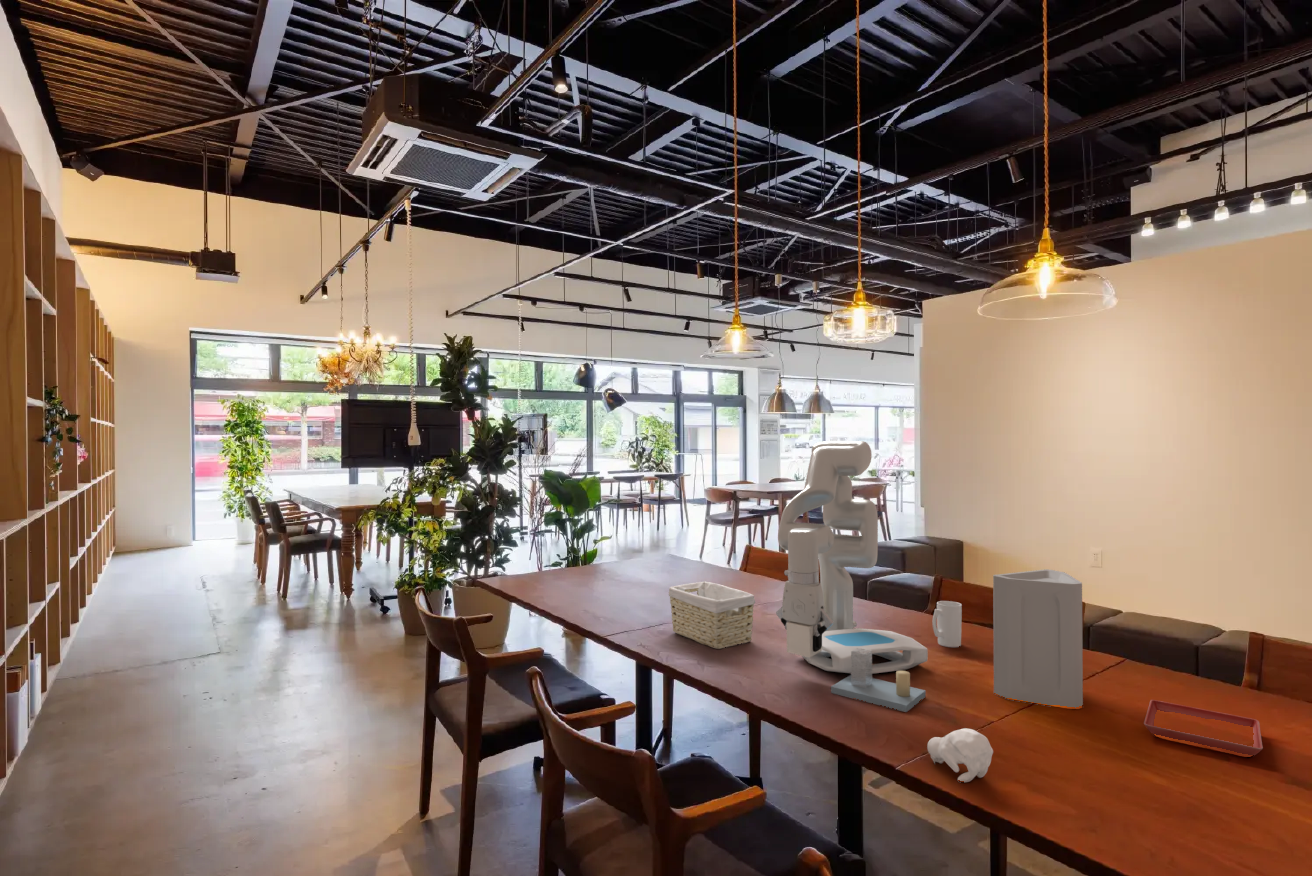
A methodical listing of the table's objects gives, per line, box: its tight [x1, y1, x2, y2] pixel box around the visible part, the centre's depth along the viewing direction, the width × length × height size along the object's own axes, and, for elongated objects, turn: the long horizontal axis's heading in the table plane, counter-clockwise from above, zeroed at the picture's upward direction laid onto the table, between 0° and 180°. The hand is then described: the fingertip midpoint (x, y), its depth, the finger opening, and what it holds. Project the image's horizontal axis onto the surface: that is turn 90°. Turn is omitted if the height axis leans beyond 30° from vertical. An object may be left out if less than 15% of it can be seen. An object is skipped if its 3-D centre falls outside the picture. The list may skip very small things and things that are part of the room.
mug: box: [931, 600, 963, 648], centre depth 201 cm, size 10×7×12 cm, turn 116°
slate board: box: [830, 670, 927, 713], centre depth 161 cm, size 12×18×6 cm, turn 49°
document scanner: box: [801, 627, 929, 675], centre depth 184 cm, size 21×28×6 cm
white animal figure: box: [926, 727, 994, 783], centre depth 124 cm, size 6×8×12 cm
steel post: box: [850, 648, 873, 688], centre depth 164 cm, size 4×4×8 cm
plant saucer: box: [1143, 699, 1264, 756], centre depth 139 cm, size 18×18×3 cm
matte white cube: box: [786, 621, 822, 658], centre depth 174 cm, size 6×6×8 cm
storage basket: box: [668, 581, 756, 650], centre depth 209 cm, size 24×16×15 cm
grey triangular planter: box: [992, 569, 1084, 708], centre depth 159 cm, size 19×15×28 cm
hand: (804, 646), depth 174 cm, fingers closed on matte white cube, 6 cm apart
